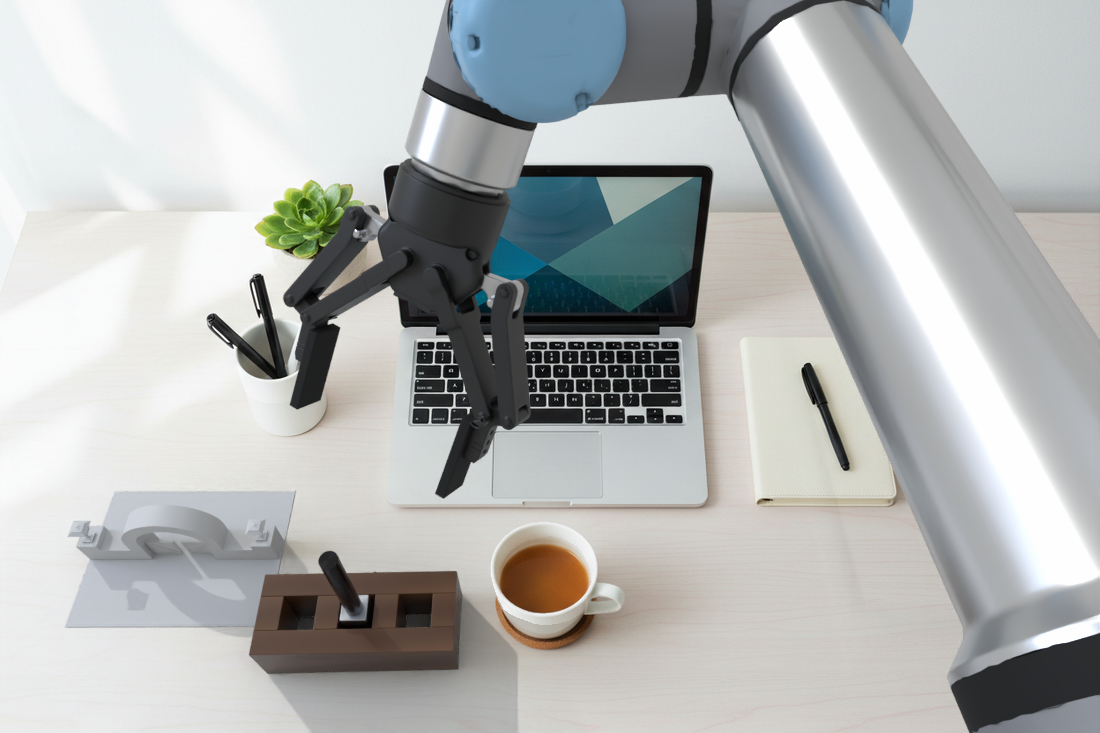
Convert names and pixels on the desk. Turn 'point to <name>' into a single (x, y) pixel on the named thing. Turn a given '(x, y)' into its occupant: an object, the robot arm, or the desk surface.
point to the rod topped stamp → (346, 594)
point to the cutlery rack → (358, 648)
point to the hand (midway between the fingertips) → (374, 445)
